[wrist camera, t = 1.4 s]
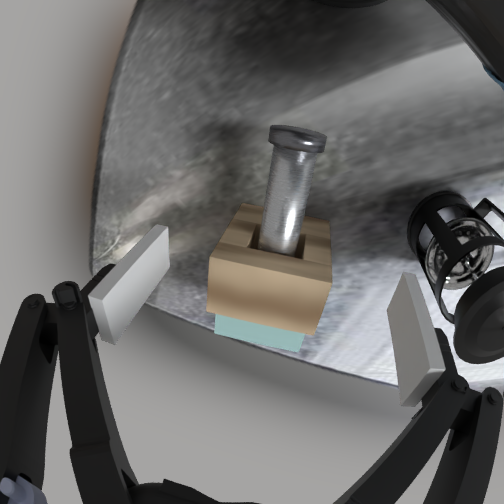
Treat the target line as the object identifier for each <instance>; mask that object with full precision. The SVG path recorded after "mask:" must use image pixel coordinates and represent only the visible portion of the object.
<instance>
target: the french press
mask: <svg viewBox="0 0 504 504" xmlns="http://www.w3.org/2000/svg"><path fill="white" fill-rule="evenodd" d="M452 205H457V206H458V207H460V208H461V209H462V210H463V211H464V213H465V215H466V217H464V218H458V219H454V220H452V221H449V222H447V223H445V221H444V220H443V219H442V218H441V216H440V215H439V214H438V213H437V211H439V210H440V209H442V208H445V207H448V206H452ZM490 211H493V212H494V213H495V214H496V215H497V216H498V217H500V218H501V219H502V220H503V221H504V213H503V212H502V211H501V210H500V209H499V208H497V207H496V206H495V205H494V204H493V203H492V202H490V201H489V200H488V199H487V198H484V199H483V200H482V201H481V202H480V203H479V204H478V205H477V206H476V207H475V208H474V209H473V207H472V206H471V204H470V203H469V202H468V201H467V200H466V198H464V197H463V196H461V195H460V194H457V193H455V192H449V191H443V192H437V193H434V194H432V195H430V196H428V197H426V198H425V199H424V200H423V201H421V202H420V203H419V204H418V206H417V207H416V208H415V209H414V211H413V213H412V215H411V217H410V220H409V222H408V228H407V238H408V242H409V245H410V247H411V249H412V251H413V253H414V254H415V255H416V256H417V258H418V260H419V262H420V264H421V266H422V268H423V271H424V273H425V275H426V277H427V280H428V282H429V284H430V286H431V289H432V291H433V293H434V296H435V298H436V301H437V303H438V305H439V308H440V310H441V313H442V315H443V316H444V317H445V319H446V320H448V321H449V322H450V323H452V324H455V332H454V337H453V345H454V348H455V351H456V354H457V355H458V356H459V358H460V359H462V360H463V361H465V362H468V363H471V364H484V363H488V362H492V361H495V360H497V359H500V358H502V357H504V266H503V267H498V268H495V269H493V270H490V271H489V272H487V273H485V271H486V270H487V268H488V267H489V265H490V263H491V260H492V257H493V253H494V245H500V246H503V247H504V240H503V239H502V237H501V236H500V235H499V234H498V233H497V232H496V231H495V230H494V229H493V228H492V227H491V226H490V225H489V224H488V223H487V222H486V221H485V220H484V219H483V218H484V217H485V216H486V215H487V214H488V213H489V212H490ZM425 223H426V225H427V226H428V228H429V229H430V231H431V232H432V234H433V235H434V236H433V237H432V239H431V241H430V244H429V246H428V249H427V251H425V250H424V249H423V248H422V246H421V245H420V242H419V235H420V232H421V229H422V228H423V226H424V224H425ZM491 232H492V233H491ZM492 234H493V235H494V236H493V235H492ZM484 273H485V274H484ZM469 285H470V286H469ZM467 286H469V287H468V288H467V290H466V291H465V292H464V294H463V295H462V296H461V298H460V300H459V301H458V303H457V305H456V309H455V313H454V315H453V314H450V313H448V311H447V309H446V306H445V304H444V302H443V299H442V297H441V292H442V289H447V290H456V289H461V288H464V287H467ZM503 397H504V392H503Z"/></svg>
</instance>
